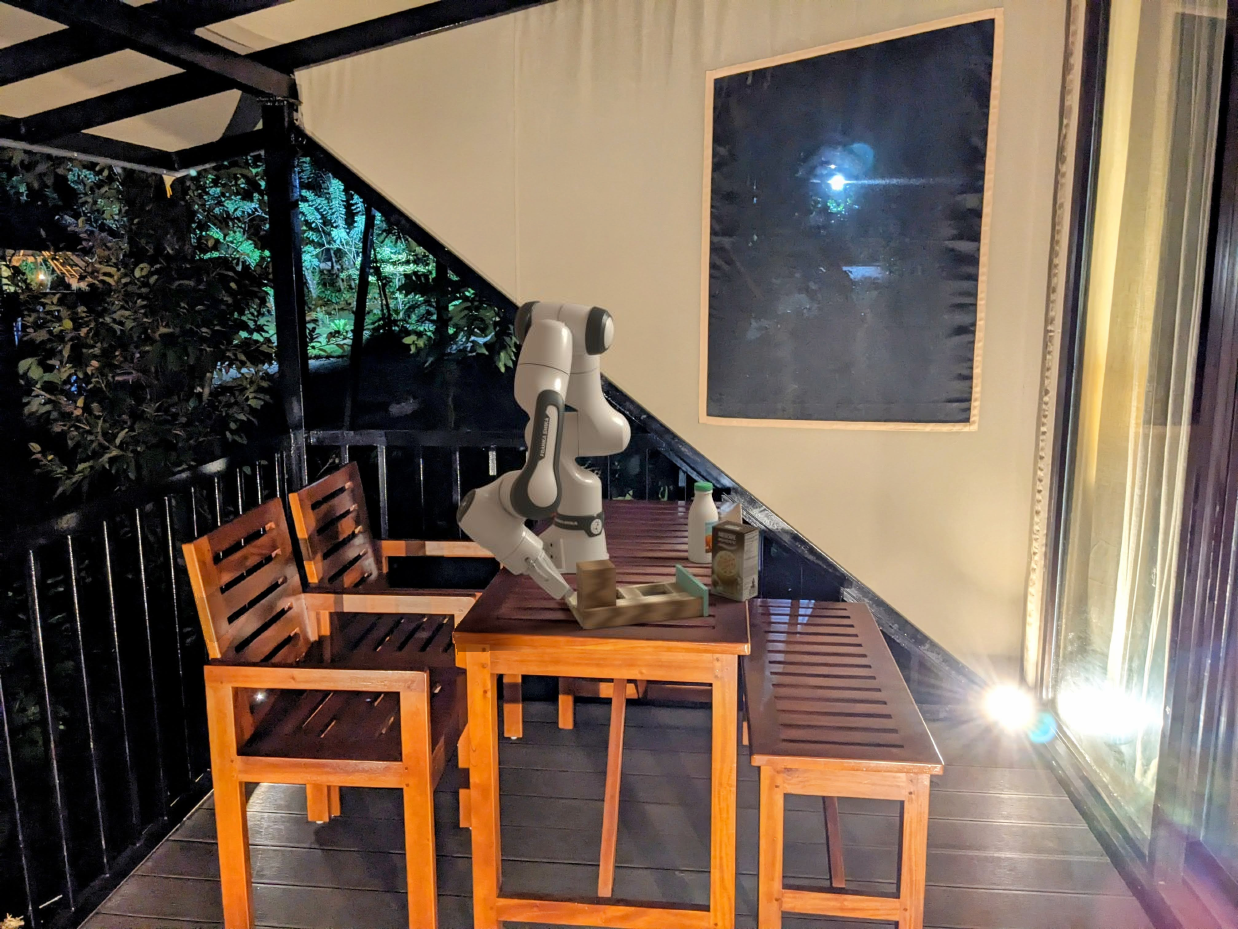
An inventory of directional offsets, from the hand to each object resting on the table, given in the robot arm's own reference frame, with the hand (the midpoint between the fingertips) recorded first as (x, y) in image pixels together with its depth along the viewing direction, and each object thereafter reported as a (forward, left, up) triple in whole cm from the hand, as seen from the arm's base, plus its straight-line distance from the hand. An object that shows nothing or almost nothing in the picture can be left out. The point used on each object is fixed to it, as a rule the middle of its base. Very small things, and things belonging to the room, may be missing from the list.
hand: (570, 593), depth 189 cm
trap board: (+4, +14, -6) cm, 16 cm away
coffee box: (+15, +36, -6) cm, 40 cm away
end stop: (+11, +26, -6) cm, 29 cm away
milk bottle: (-7, +52, -6) cm, 53 cm away
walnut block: (+3, +5, -4) cm, 7 cm away
